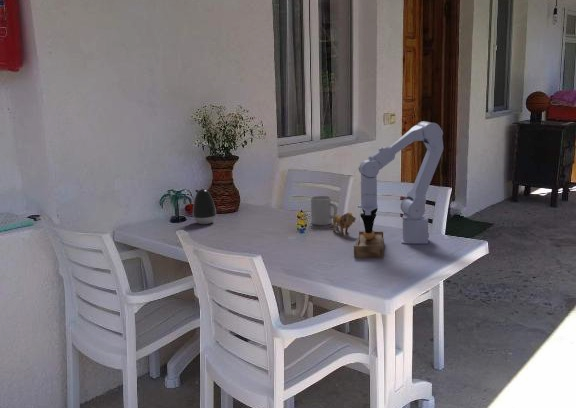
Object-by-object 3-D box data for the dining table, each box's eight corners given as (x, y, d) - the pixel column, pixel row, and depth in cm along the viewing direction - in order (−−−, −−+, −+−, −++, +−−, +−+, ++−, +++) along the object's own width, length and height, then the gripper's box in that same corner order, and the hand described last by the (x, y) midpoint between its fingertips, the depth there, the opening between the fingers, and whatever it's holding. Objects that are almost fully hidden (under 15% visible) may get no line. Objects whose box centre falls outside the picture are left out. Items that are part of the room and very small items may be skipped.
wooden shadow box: (384, 242, 219) (384, 231, 218) (382, 257, 201) (382, 245, 200) (358, 242, 221) (358, 231, 220) (354, 257, 203) (353, 245, 202)
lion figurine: (357, 235, 231) (357, 212, 229) (347, 237, 228) (346, 214, 226) (335, 228, 243) (334, 206, 241) (324, 230, 240) (324, 208, 238)
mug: (307, 224, 252) (306, 198, 249) (318, 219, 258) (318, 195, 256) (331, 227, 245) (330, 201, 242) (342, 222, 251) (341, 197, 249)
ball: (374, 231, 217) (374, 227, 213) (374, 241, 216) (374, 237, 212) (363, 231, 218) (363, 227, 214) (363, 241, 216) (362, 237, 213)
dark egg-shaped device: (207, 219, 268) (205, 186, 265) (221, 222, 260) (219, 188, 257) (188, 223, 261) (186, 189, 258) (202, 227, 254) (199, 192, 250)
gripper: (359, 189, 221) (359, 225, 224) (356, 197, 207) (356, 235, 210) (378, 189, 220) (378, 225, 223) (376, 197, 206) (376, 235, 209)
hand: (369, 230), depth 216 cm, fingers open, 7 cm apart
